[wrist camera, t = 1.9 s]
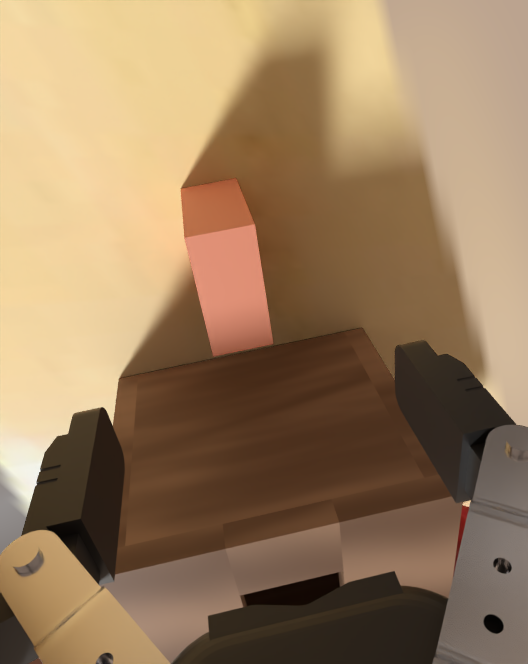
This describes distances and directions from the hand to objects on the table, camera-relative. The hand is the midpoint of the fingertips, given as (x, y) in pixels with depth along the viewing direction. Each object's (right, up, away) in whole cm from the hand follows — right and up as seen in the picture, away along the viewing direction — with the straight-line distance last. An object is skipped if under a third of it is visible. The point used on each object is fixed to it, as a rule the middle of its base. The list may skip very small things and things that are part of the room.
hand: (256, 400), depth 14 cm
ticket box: (0, -5, +16) cm, 17 cm away
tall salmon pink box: (-2, +6, +9) cm, 11 cm away
